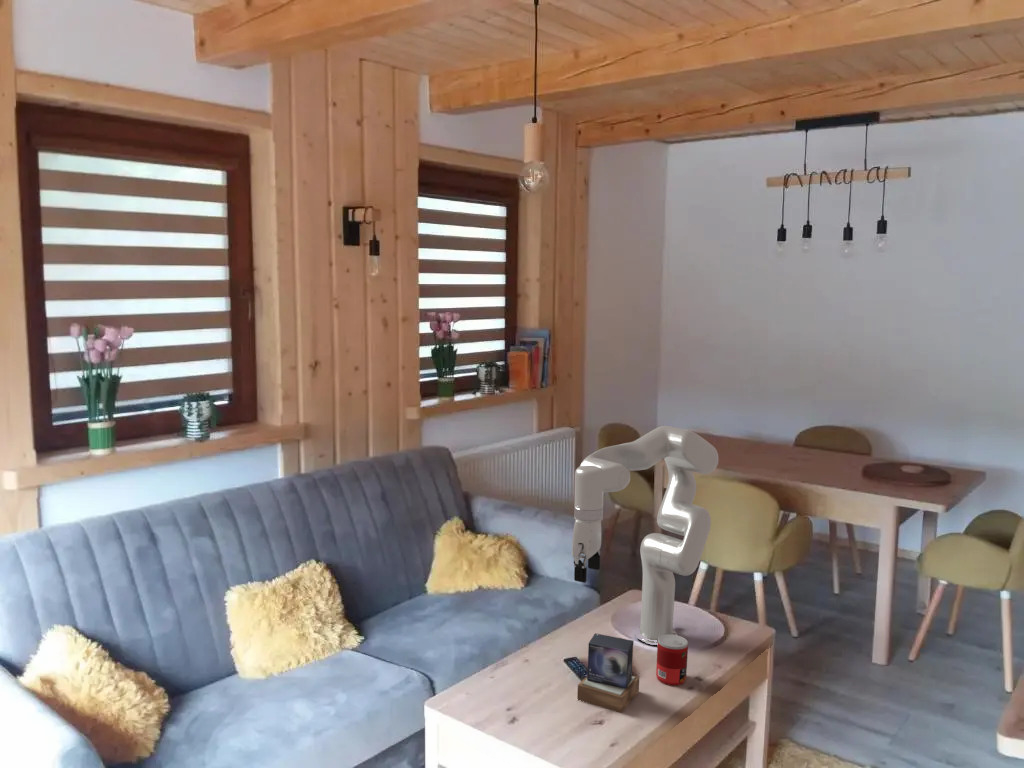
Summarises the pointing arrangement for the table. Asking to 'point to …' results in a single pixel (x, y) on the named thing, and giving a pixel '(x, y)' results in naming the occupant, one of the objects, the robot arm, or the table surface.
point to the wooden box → (608, 694)
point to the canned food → (672, 659)
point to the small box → (610, 660)
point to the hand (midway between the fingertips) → (587, 574)
